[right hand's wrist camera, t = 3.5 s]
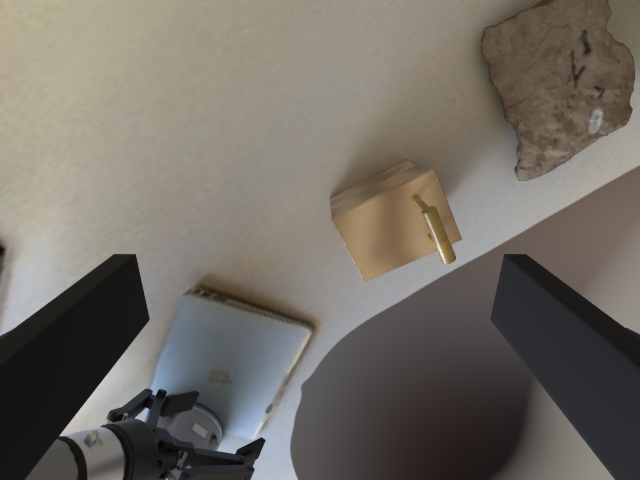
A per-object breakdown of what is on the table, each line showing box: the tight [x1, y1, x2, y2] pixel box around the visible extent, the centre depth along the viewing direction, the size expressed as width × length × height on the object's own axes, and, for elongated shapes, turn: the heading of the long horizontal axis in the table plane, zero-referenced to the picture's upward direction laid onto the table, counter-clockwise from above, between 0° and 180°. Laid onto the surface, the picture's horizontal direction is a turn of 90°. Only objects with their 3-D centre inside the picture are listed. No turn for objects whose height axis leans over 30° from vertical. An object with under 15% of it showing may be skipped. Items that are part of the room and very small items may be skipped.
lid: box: [332, 169, 462, 282], centre depth 41 cm, size 14×10×8 cm
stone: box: [481, 0, 635, 181], centre depth 45 cm, size 21×15×6 cm
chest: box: [330, 160, 425, 217], centre depth 50 cm, size 13×10×10 cm
